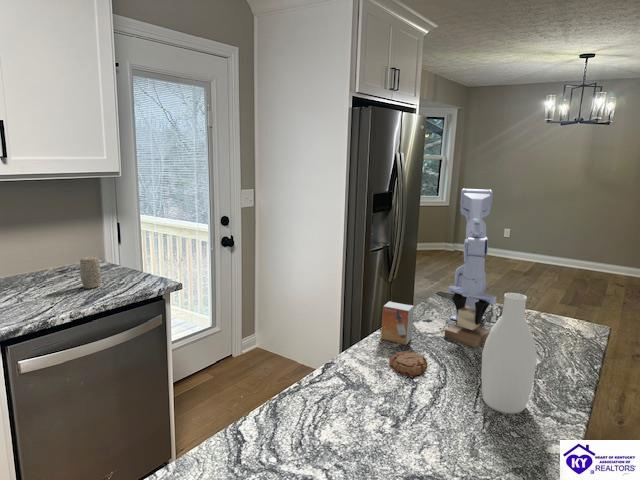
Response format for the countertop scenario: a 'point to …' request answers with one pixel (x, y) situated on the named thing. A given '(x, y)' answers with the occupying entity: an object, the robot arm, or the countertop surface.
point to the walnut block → (467, 335)
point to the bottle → (509, 359)
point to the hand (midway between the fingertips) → (469, 321)
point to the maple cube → (467, 318)
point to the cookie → (408, 363)
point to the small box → (397, 322)
